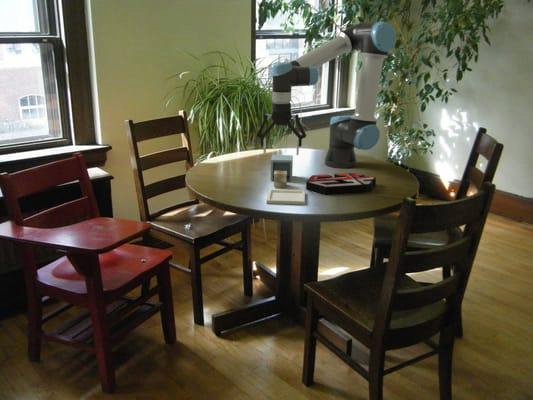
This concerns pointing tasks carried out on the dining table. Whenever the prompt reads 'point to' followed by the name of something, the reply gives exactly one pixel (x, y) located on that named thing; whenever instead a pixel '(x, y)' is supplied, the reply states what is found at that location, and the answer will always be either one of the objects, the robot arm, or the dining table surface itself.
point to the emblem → (340, 184)
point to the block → (280, 179)
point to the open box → (282, 164)
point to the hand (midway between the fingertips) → (281, 154)
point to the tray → (286, 197)
